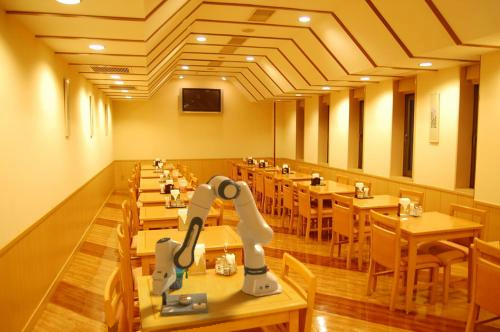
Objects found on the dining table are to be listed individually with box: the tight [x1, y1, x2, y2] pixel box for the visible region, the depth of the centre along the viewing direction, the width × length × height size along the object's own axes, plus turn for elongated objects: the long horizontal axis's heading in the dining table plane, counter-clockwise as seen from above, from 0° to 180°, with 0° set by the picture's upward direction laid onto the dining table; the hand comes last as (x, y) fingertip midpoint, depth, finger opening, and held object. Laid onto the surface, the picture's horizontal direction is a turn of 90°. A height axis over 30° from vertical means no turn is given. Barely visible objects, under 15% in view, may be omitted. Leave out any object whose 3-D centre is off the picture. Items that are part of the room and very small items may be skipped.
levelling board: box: [161, 292, 209, 317], centre depth 207 cm, size 23×20×4 cm
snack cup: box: [169, 266, 189, 290], centre depth 229 cm, size 16×10×10 cm
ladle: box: [161, 292, 192, 306], centre depth 205 cm, size 15×7×6 cm, turn 105°
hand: (165, 296), depth 206 cm, fingers closed
